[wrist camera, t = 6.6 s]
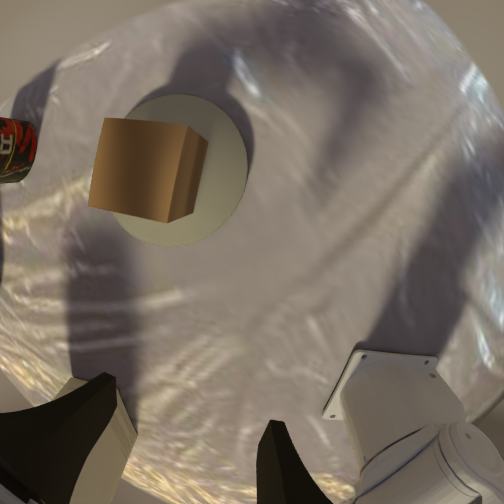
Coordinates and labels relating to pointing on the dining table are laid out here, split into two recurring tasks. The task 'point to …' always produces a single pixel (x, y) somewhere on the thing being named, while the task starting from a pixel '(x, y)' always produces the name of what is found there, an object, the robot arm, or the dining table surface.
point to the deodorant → (16, 149)
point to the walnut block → (147, 169)
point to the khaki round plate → (213, 173)
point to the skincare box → (103, 455)
